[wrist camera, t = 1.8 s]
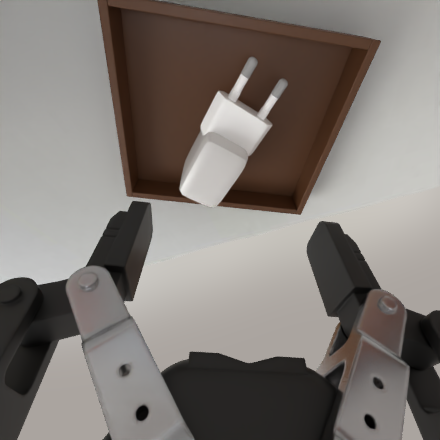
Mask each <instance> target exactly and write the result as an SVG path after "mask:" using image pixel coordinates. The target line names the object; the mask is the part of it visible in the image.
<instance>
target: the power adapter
mask: <svg viewBox="0 0 440 440" xmlns="http://www.w3.org/2000/svg"><path fill="white" fill-rule="evenodd" d="M257 64H258V61H257V59H256V58H255V57H249V58H248V60H247V62H246V64H245V66H244V68H243V69H242V71H241V74H240V76H239V78H238V80H237V81H236V83H235V85H234V87H233V88H232V90H231V91H230V93H229V94H227V93H226V92H224V91H218V92H217V94H216V96H215V98H214V99H213V101H212V103H211V105H210V107H209V109H208V111H207V113H206V115H205V117H204V119H203V121H202V123H201V126H200V129H201V131H200V133H199V134H198V136H197V138H196V140H195V142H194V144H193V146H192V148H191V150H190V152H189V154H188V156H187V158H186V160H185V164H184V168H183V172H182V176H181V181H180V187H179V190H180V192H181V193H182V195H184V196H186V197H187V198H189V199H192V200H194V201H196V202H198V203H201V204H203V205H206V206H208V207H211V208H212V207H215V206H217V205H218V204H219V203H220V202H221V201H222V199H223V198H224V197H225V195H226V194H227V192H228V191H229V190H230V188H231V187H232V185H233V184H234V183H235V181H236V180H237V178H238V177H239V175H240V174H241V172H242V171H243V169H244V168H245V165H246V163H247V160H248V156H250V155H251V154H252V153H253V152H254V151H255V149H256V148H257V146H258V145H259V144H260V142H261V141H262V139H263V138H264V137H265V135H266V134H267V132H268V131H269V129H270V128H271V127H272V123H271V122H270V121H269V120H268V119H267V118H266V117H267V115H268V114H269V112H270V110H271V109H272V107H273V106H274V104H275V103H276V101H277V100H278V99H279V98H280V96H281V95H282V93H283V92H284V90H285V89H286V87H287V85H288V82H287V80H286V79H283V78H282V79H280V80H279V81H278V83H277V84H276V86H275V87H274V89H273V90H272V92H271V94H270V96H269V97H268V99H267V101H266V102H265V104H264V105H263V107H261V109H260V110H259V112H257V111H255V110H253V109H252V108H250V107H249V106H247V105H245V104H244V103H242V102H241V101H239V100H237V99H238V98H239V96H240V94H241V91H242V90H243V88H244V86H245V84H246V83H247V81H248V79H249V78H250V77H251V75H252V73H253V71H254V70H255V68H256V66H257Z"/></svg>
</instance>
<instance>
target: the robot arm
mask: <svg viewBox="0 0 440 440" xmlns="http://www.w3.org/2000/svg"><path fill="white" fill-rule="evenodd" d="M152 231H153V226H152V213H151V204H150V203H148V202H138V201H133V202H132V203H131V205H130V207H129V210H128V212H124V211H119V212H118V213H117V214H116V215H114V216H113V217H112V218H111V219H110V221H109V223H108V225H107V227H106V229H105V231H104V233H103V236H102V237H101V238H100V240H99V242H98V244H97V246H96V248H95V250H94V252H93V254H92V256H91V258H90V260H89V262H88V263H87V265H86V267H84V268H81V269H79V270H78V271H76V272H75V273H73V274H72V275H71V276H70V278H69V279H66V280H62V281H58V282H52V283H47V284H42V285H37V284H36V282H35V281H34V280H32V279H30V278H24V277H21V278H14V279H10V280H8V281H5V282H3V283H1V284H0V440H17V438H18V436H19V434H20V431H21V429H22V426H23V424H24V422H25V419H26V417H27V415H28V412H29V410H30V408H31V405H32V403H33V400H34V398H35V396H36V393H37V391H38V389H39V386H40V384H41V382H42V379H43V377H44V374H45V372H46V370H47V367H48V365H49V363H50V360H51V358H52V355H53V353H54V351H55V348H56V346H57V344H58V341H59V340H60V339H64V338H68V337H72V336H76V335H81V339H82V348H83V352H84V355H85V359H86V362H87V364H88V368H89V371H90V374H91V377H92V380H93V383H94V386H95V390H96V392H97V396H98V399H99V402H100V405H101V408H102V411H103V414H104V417H105V421H106V423H107V427H108V430H109V433H108V434H107V436H105V438H104V439H103V440H402V432H403V424H404V415H405V407H406V399H407V401H408V404H409V406H410V409H411V411H412V413H413V416H414V418H415V421H416V423H417V425H418V428H419V430H420V433H421V435H422V437H423V440H440V378H439V376H438V375H437V373H436V371H435V369H434V367H433V366H434V365H436V364H439V363H440V311H437V310H436V311H433V312H431V313H430V314H428V315H427V316H424V315H422V314H419V313H416V312H414V311H411V310H408V309H405V307H404V305H403V304H402V303H401V301H399V300H398V299H397V298H396V297H395V296H394V295H392V294H391V293H389V292H387V291H384V290H382V289H381V288H380V286H379V284H378V282H377V280H376V279H375V277H374V275H373V273H372V271H371V270H370V268H369V266H368V264H367V262H366V261H365V259H364V257H363V255H362V254H361V251H360V250H359V248H358V246H357V244H356V243H355V242H354V241H353V240H352V239H351V238H350V237H349V236H348V235H347V234H344V232H343V230H342V229H341V227H340V225H339V224H338V223H334V222H324V221H321V222H319V224H318V225H317V227H316V229H315V231H314V233H313V235H312V236H311V238H310V240H309V242H308V245H307V255H308V258H309V261H310V264H311V267H312V270H313V273H314V276H315V279H316V282H317V285H318V288H319V291H320V294H321V297H322V300H323V303H324V306H325V309H326V312H327V315H328V316H331V317H339V320H340V323H339V324H338V325H337V327H336V330H335V332H334V334H333V337H332V339H331V342H330V344H329V347H328V349H327V352H326V354H325V357H324V359H323V361H322V363H321V364H320V366H319V367H318V369H317V370H316V372H315V371H314V370H312V369H310V368H307V367H306V363H305V359H304V358H292V357H274V358H270V359H266V360H262V361H258V362H254V363H245V362H242V361H239V360H237V359H234V358H231V357H228V356H225V355H222V354H219V353H205V352H190V354H189V359H187V360H183V361H180V362H178V363H175V364H173V365H171V366H170V367H168V368H166V369H165V370H164V371H162V372H161V373H160V371H159V369H158V367H157V365H156V363H155V361H154V359H153V357H152V355H151V353H150V351H149V349H148V346H147V344H146V343H145V340H144V338H143V336H142V334H141V332H140V330H139V328H138V326H137V324H136V322H135V320H134V319H133V317H132V316H130V314H129V313H128V311H127V308H126V306H125V304H124V301H133V298H134V295H135V291H136V288H137V285H138V282H139V278H140V275H141V272H142V268H143V265H144V262H145V258H146V255H147V252H148V249H149V245H150V242H151V238H152Z"/></svg>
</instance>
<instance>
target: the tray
mask: <svg viewBox="0 0 440 440" xmlns="http://www.w3.org/2000/svg"><path fill="white" fill-rule="evenodd" d="M98 7H99V13H100V20H101V27H102V33H103V40H104V47H105V53H106V60H107V67H108V73H109V80H110V87H111V93H112V100H113V107H114V113H115V120H116V127H117V134H118V140H119V147H120V154H121V160H122V167H123V174H124V180H125V187H126V194H127V196H129V197H138V198H148V199H157V200H167V201H176V202H186V203H195V204H201V203H198V202H196V201H194V200H192V199H189V198H187V197H186V196H184V195H182V193H181V192H180V190H179V187H180V181H181V176H182V172H183V168H184V164H185V160H186V158H187V156H188V154H189V152H190V150H191V148H192V146H193V144H194V142H195V140H196V138H197V136H198V134H199V133H200V131H201V129H200V126H201V123H202V121H203V119H204V117H205V115H206V113H207V111H208V109H209V107H210V105H211V103H212V101H213V99H214V98H215V96H216V94H217V92H218V91H224V92H226V93H227V94H229V93H230V91H231V90H232V88H233V87H234V85H235V83H236V81H237V80H238V78H239V76H240V74H241V71H242V69H243V68H244V66H245V64H246V62H247V60H248V58H249V57H255V58H256V59H257V61H258V64H257V66H256V68H255V70H254V71H253V73H252V75H251V77H250V78H249V79H248V81H247V83H246V84H245V86H244V88H243V90H242V91H241V94H240V96H239V98H238V99H237V100H239V101H241V102H242V103H244V104H245V105H247V106H249V107H250V108H252V109H253V110H255V111H257V112H259V110H260V109H261V107H263V105H264V104H265V102H266V101H267V99H268V97H269V96H270V94H271V92H272V90H273V89H274V87H275V86H276V84H277V83H278V81H279V80H280V79H282V78H283V79H286V80H287V82H288V85H287V87H286V89H285V90H284V92H283V93H282V95H281V96H280V98H279V99H278V100H277V101H276V103H275V104H274V106H273V107H272V109H271V110H270V112H269V114H268V115H267V117H266V118H267V119H268V120H269V121H270V122H271V123H272V127H271V128H270V129H269V131H268V132H267V134H266V135H265V137H264V138H263V139H262V141H261V142H260V144H259V145H258V146H257V148H256V149H255V151H254V152H253V153H252V154H251V155H250V156H248V160H247V163H246V165H245V168H244V169H243V171H242V172H241V174H240V175H239V177H238V178H237V180H236V181H235V183H234V184H233V185H232V187H231V188H230V190H229V191H228V192H227V194H226V195H225V197H224V198H223V199H222V201H221V202H220V203H219V204H218V205H217V206H223V207H233V208H242V209H252V210H261V211H271V212H280V213H290V214H299V215H301V213H302V211H303V208H304V206H305V204H306V202H307V200H308V198H309V195H310V193H311V191H312V189H313V187H314V185H315V183H316V180H317V178H318V176H319V174H320V172H321V170H322V167H323V165H324V163H325V161H326V159H327V157H328V155H329V152H330V150H331V148H332V146H333V144H334V142H335V139H336V137H337V135H338V133H339V131H340V129H341V127H342V124H343V122H344V120H345V118H346V116H347V114H348V111H349V109H350V107H351V105H352V103H353V101H354V98H355V96H356V94H357V92H358V90H359V88H360V86H361V83H362V81H363V79H364V77H365V75H366V73H367V70H368V68H369V66H370V64H371V62H372V60H373V58H374V55H375V53H376V51H377V49H378V47H379V45H380V42H381V41H380V40H375V39H371V38H367V37H362V36H357V35H351V34H345V33H339V32H334V31H328V30H322V29H317V28H311V27H305V26H299V25H294V24H288V23H282V22H277V21H271V20H265V19H259V18H254V17H248V16H242V15H237V14H231V13H225V12H220V11H214V10H208V9H202V8H197V7H191V6H185V5H180V4H174V3H168V2H162V1H157V0H98Z"/></svg>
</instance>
